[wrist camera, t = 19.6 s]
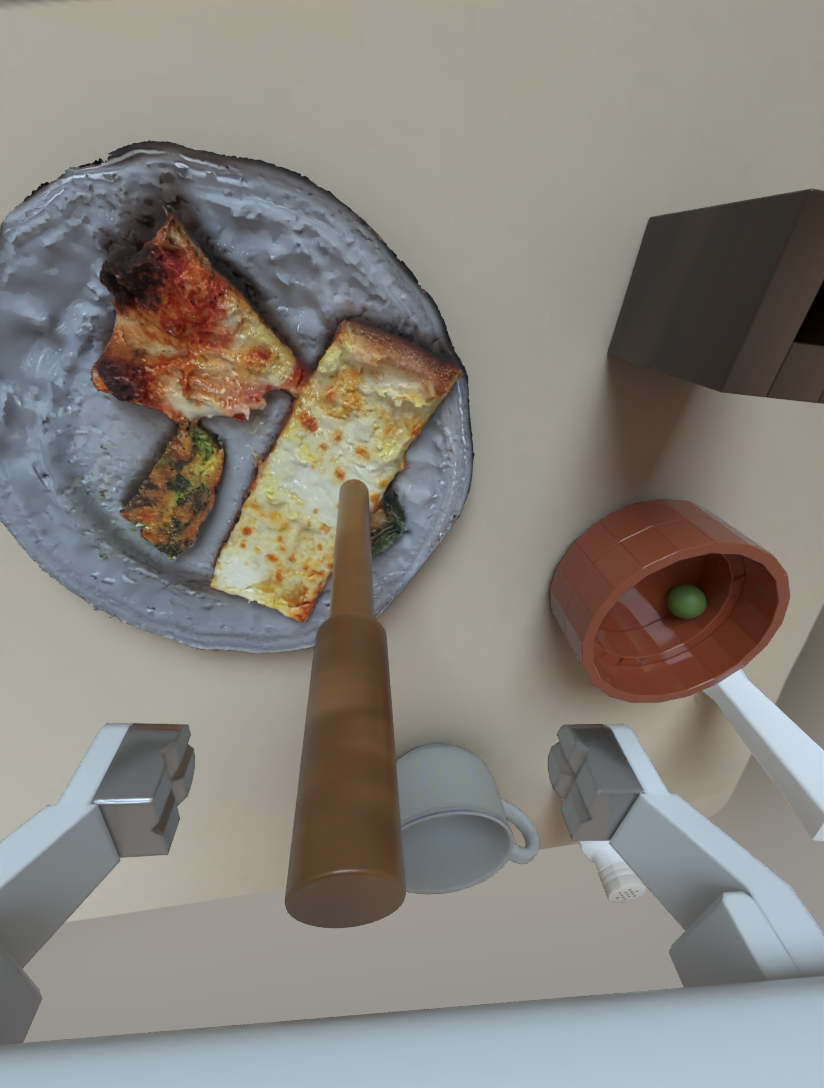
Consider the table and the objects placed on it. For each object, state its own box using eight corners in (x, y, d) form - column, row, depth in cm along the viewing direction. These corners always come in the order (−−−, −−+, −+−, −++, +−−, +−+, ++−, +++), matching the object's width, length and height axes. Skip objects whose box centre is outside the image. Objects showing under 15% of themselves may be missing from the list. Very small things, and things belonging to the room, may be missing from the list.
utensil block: (762, 235, 22) (974, 218, 15) (707, 365, 25) (859, 408, 18) (649, 216, 21) (811, 187, 14) (607, 353, 24) (720, 392, 17)
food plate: (97, -7, 16) (38, -70, 13) (549, 384, 25) (575, 400, 22) (-56, 516, 25) (-112, 549, 22) (314, 669, 34) (310, 708, 31)
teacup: (352, 784, 42) (350, 884, 35) (411, 711, 38) (422, 809, 31) (475, 813, 47) (496, 906, 40) (541, 750, 42) (576, 844, 35)
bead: (721, 609, 31) (699, 588, 33) (702, 592, 30) (681, 571, 32) (690, 631, 32) (671, 609, 34) (671, 615, 31) (653, 593, 33)
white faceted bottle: (696, 701, 41) (851, 900, 28) (690, 671, 38) (855, 872, 26) (748, 682, 40) (931, 876, 27) (744, 650, 38) (942, 845, 25)
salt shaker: (567, 799, 47) (611, 910, 39) (554, 781, 45) (597, 894, 37) (604, 784, 46) (656, 894, 38) (592, 765, 44) (644, 877, 36)
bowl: (752, 501, 30) (833, 548, 25) (676, 642, 36) (728, 703, 31) (577, 488, 28) (625, 536, 23) (528, 639, 35) (557, 703, 30)
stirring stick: (377, 473, 23) (413, 870, 8) (373, 512, 24) (400, 925, 9) (333, 470, 23) (282, 876, 8) (332, 509, 24) (285, 933, 9)
